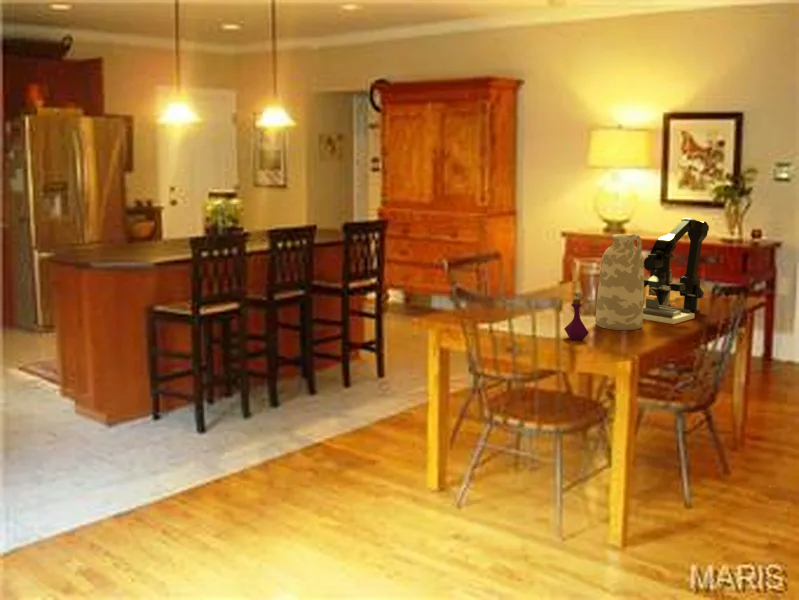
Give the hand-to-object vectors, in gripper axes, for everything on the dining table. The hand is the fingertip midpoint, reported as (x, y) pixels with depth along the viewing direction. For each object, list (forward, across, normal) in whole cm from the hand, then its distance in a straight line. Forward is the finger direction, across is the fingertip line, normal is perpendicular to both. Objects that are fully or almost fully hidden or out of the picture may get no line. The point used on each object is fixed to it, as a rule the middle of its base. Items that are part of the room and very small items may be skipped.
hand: (660, 304), depth 389 cm
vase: (+5, -2, -29) cm, 30 cm away
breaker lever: (+3, -4, 0) cm, 5 cm away
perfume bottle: (+5, -1, -62) cm, 62 cm away
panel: (+5, 0, 0) cm, 5 cm away
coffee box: (+5, -15, +26) cm, 31 cm away
